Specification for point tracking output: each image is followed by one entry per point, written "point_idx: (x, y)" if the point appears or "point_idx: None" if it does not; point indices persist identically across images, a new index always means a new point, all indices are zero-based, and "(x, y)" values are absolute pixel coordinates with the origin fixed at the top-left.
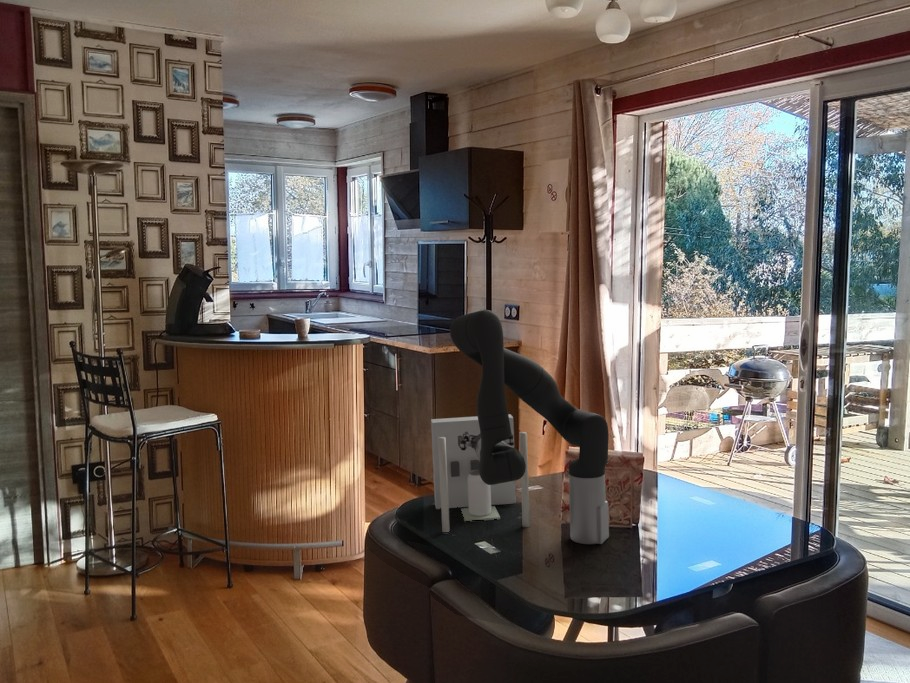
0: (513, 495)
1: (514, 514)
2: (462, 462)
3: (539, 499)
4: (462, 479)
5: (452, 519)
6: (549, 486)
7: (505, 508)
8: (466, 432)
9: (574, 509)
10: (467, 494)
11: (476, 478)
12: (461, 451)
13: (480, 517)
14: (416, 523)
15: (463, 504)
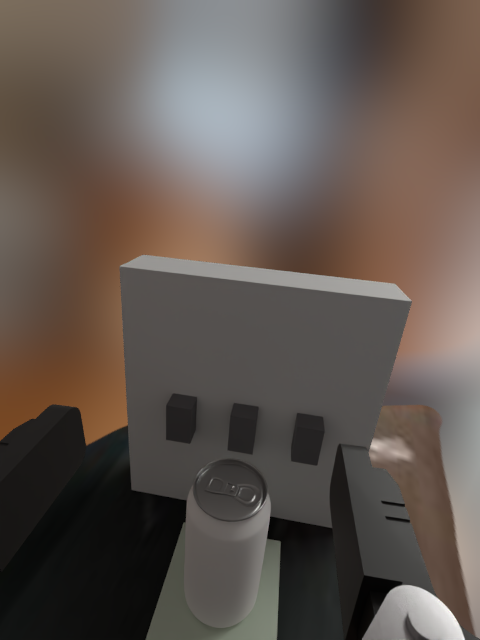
0: None
1: (333, 637)
2: (208, 402)
3: (412, 526)
4: (204, 444)
5: (123, 594)
6: (428, 454)
7: (310, 560)
8: (39, 426)
9: None
10: None
11: (208, 526)
12: (209, 372)
13: (206, 638)
14: (4, 583)
15: None
